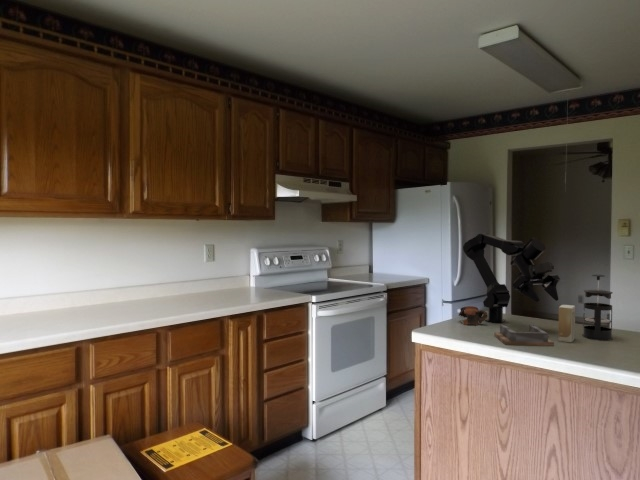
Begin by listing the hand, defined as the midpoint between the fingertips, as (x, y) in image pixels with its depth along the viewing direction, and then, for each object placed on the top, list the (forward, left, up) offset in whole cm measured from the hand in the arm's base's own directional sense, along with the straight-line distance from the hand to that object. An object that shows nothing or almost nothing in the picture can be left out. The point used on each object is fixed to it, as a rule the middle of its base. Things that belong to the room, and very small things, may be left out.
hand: (548, 300), depth 169 cm
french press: (-9, +15, -13) cm, 22 cm away
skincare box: (+3, +7, -13) cm, 15 cm away
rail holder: (+14, -5, -13) cm, 19 cm away
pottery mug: (-4, -29, -13) cm, 32 cm away
